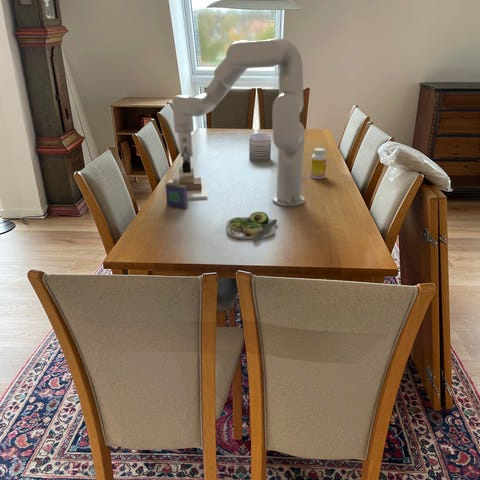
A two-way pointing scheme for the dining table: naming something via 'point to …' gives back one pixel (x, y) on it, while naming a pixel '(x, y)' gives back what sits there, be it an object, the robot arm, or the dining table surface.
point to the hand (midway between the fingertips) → (187, 169)
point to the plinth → (191, 184)
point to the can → (260, 148)
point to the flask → (176, 195)
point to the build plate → (197, 192)
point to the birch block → (186, 175)
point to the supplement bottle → (318, 164)
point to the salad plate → (252, 226)
